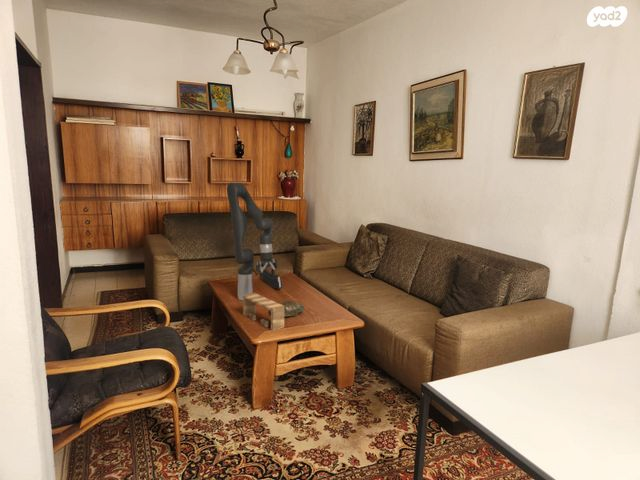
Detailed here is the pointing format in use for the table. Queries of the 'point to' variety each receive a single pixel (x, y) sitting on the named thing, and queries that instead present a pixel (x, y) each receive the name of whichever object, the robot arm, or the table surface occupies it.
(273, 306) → the oak overhang
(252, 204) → the robot arm
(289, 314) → the turtle shell
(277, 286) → the magazine
